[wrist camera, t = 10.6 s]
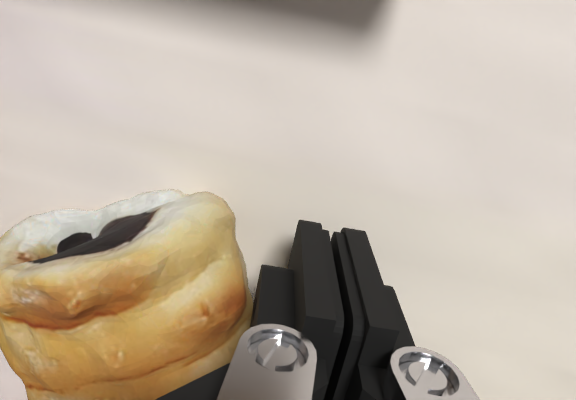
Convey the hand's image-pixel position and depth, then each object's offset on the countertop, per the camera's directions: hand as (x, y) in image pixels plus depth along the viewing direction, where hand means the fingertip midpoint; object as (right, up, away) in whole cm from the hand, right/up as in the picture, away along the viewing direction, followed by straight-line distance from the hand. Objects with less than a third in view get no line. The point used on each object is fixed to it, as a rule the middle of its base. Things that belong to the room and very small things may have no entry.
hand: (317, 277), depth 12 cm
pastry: (-4, -1, +2) cm, 5 cm away
